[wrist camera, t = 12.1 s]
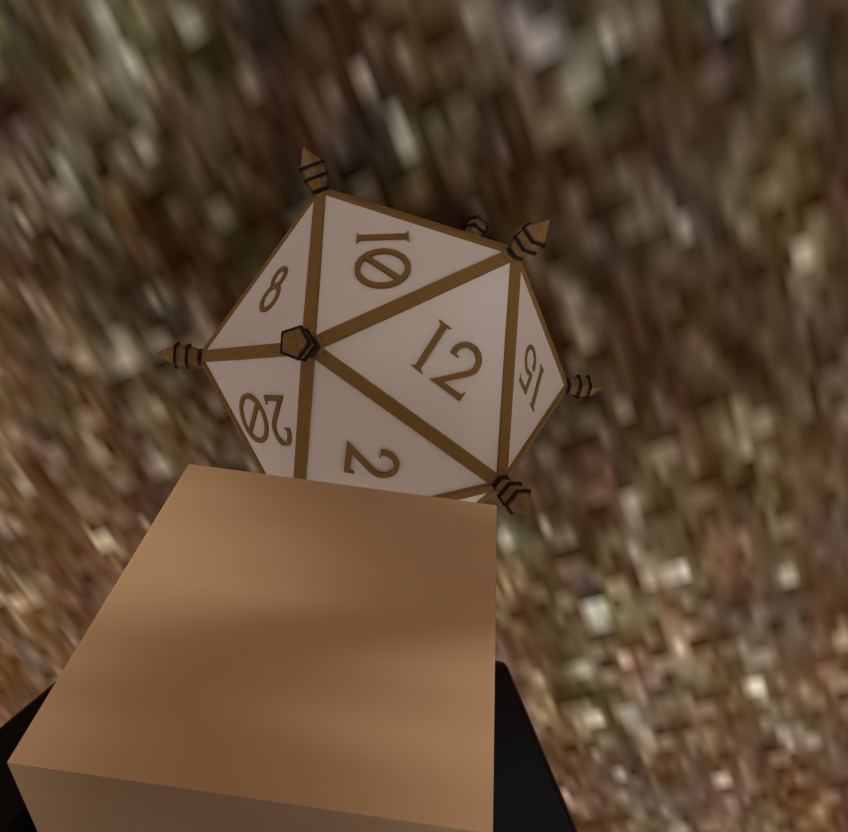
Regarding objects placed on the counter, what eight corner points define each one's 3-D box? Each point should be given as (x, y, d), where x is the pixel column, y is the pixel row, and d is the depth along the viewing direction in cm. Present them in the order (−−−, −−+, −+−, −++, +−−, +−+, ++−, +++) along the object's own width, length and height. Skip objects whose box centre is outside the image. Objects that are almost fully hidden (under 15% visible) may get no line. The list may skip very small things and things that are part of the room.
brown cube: (496, 505, 9) (493, 833, 6) (459, 692, 11) (439, 1006, 8) (189, 463, 9) (7, 761, 6) (212, 658, 11) (92, 952, 8)
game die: (407, 304, 23) (242, 577, 19) (269, 68, 17) (-17, 409, 13) (682, 345, 18) (531, 719, 15) (636, 32, 12) (344, 561, 8)
